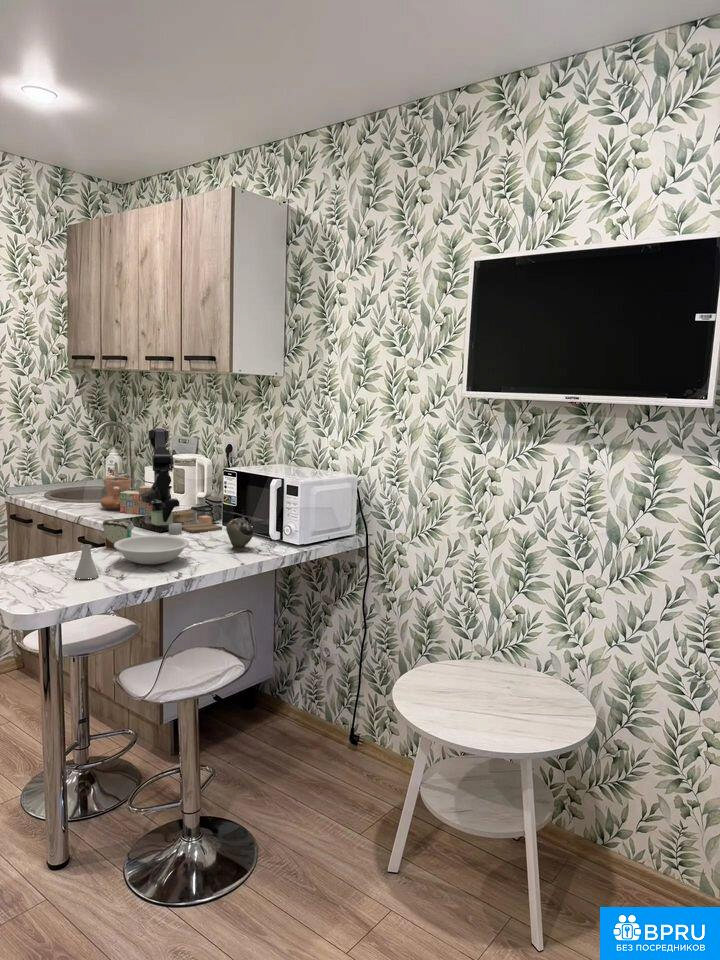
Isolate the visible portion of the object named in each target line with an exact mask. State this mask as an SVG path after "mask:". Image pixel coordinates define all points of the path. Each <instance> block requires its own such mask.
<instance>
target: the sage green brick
mask: <svg viewBox="0 0 720 960" xmlns="http://www.w3.org/2000/svg"><path fill="white" fill-rule="evenodd" d="M173 514H174V513H173V511H172V512H171V514H170V516H169V518H168V520H167V522H164V521H163V513H162V510H160V511H151V515H150V517H151V521H150V523H151V524H152V525H154V526H162V525H163V526H165V525H169V523H173Z"/></svg>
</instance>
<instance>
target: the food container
mask: <svg viewBox="0 0 720 960" xmlns="http://www.w3.org/2000/svg"><path fill="white" fill-rule="evenodd" d="M102 521H103V522H102V525H101V526H102V527H103V531H104V532H103V533H104V543H105V544H104V545H105V549H107V550H108V549H109V550H113V549H116V548H115V547H114V544H115V542H117V541H119V540H122V539H125V538H130V537H132V531H133V529H135V526H134V523H133V521H132V520H129V519H124V518H123V519H121V518H118V519H117V518H116V519H113V518H112V519H105V520H102Z"/></svg>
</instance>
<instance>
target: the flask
mask: <svg viewBox="0 0 720 960" xmlns="http://www.w3.org/2000/svg"><path fill="white" fill-rule="evenodd" d="M92 547H93V546H92V544H87V543H86V544H82V545H81V544H80V548H81V555H80V559H79V562H78V565H77V567H76V570H75V573H74V576H75V578H78V579H77V580H79V578H80V579H88V578H89V579H90V578H95V577H97V576H99V573H98V570H97V568H96V566H95V563H94V559H93V557H92V551H91V549H92ZM97 578H98V577H97ZM95 579H96V578H95ZM90 580H91V579H90Z"/></svg>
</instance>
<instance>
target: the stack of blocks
mask: <svg viewBox="0 0 720 960" xmlns="http://www.w3.org/2000/svg"><path fill="white" fill-rule="evenodd" d="M151 487H152V485H142V486H139V487H138V491H133V490H128V491H124V492H121V493H120V510H119V513H121V514H122V513H123V514H133V515H147V516H151V511H152V506H149V503H145V502H143V501H142V498H141V494H143V493H145V492H147V491H150V490H151ZM169 492H170V493H171V489H169Z"/></svg>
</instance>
